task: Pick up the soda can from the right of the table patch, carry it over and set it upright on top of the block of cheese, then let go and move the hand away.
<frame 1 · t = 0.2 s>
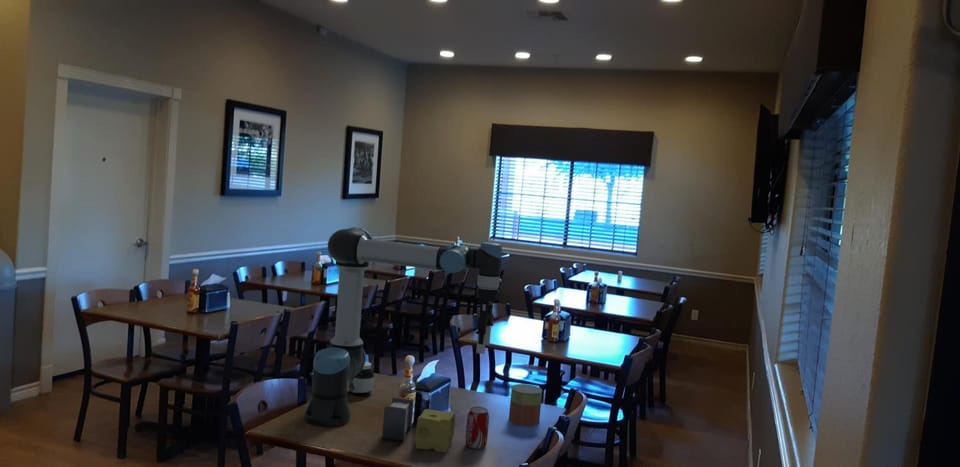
hand: (483, 348, 238), 28 cm above the table, tool pointing down, fingers open, 13 cm apart
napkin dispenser: (396, 436, 224), on the table
soda can: (475, 446, 222), on the table
canned food: (523, 421, 250), on the table
spread jar: (354, 393, 265), on the table
cheese: (433, 445, 220), on the table
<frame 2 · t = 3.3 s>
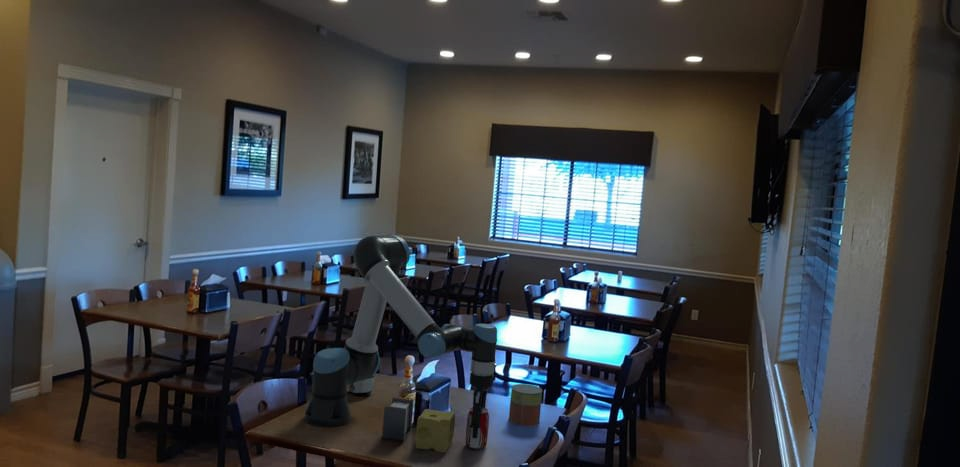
hand: (476, 442, 222), 1 cm above the table, tool pointing down, fingers closed on soda can, 7 cm apart
soda can: (475, 446, 222), on the table, touching gripper
everything else where it was.
when the fingers open (13 cm above the table, at t = 8.5 s): soda can drops 2 cm, resting on cheese.
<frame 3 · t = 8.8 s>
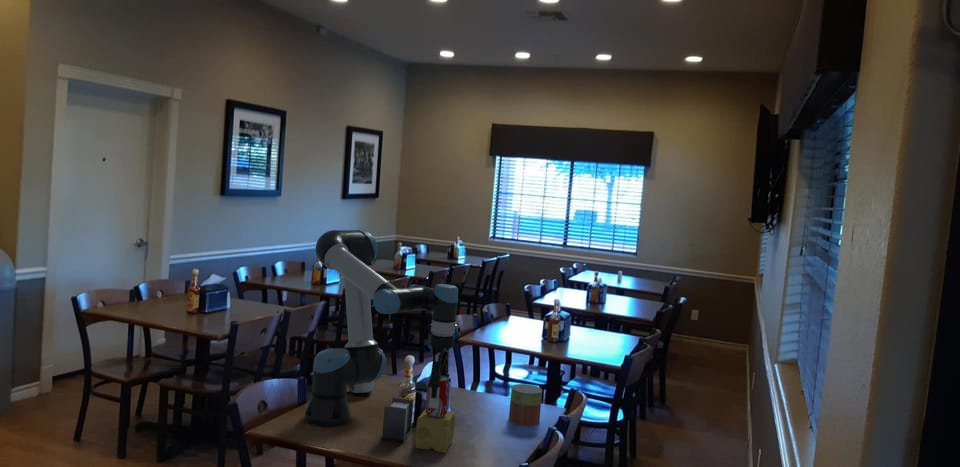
hand: (437, 402, 219), 14 cm above the table, tool pointing down, fingers open, 10 cm apart
soda can: (436, 415, 219), point 10 cm above the table, touching cheese
cheese: (433, 445, 220), on the table, touching soda can
everything else where it was.
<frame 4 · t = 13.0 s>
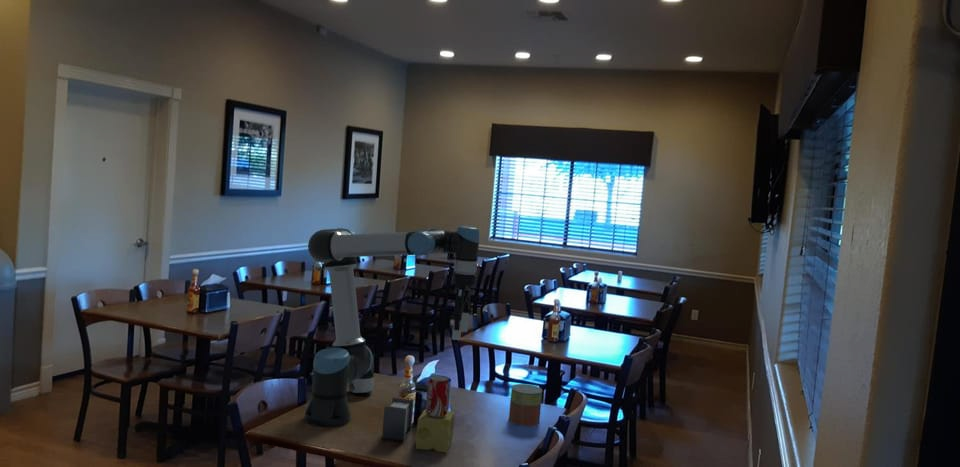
hand: (459, 335, 232), 33 cm above the table, tool pointing down, fingers open, 13 cm apart
nothing on the table moved.
at the end: soda can 0.0 cm from the cheese (horizontally); soda can point 9.7 cm above the table; soda can tilted 0° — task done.
